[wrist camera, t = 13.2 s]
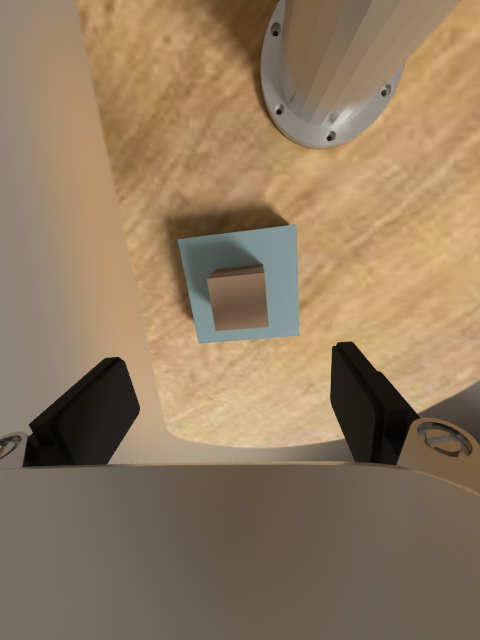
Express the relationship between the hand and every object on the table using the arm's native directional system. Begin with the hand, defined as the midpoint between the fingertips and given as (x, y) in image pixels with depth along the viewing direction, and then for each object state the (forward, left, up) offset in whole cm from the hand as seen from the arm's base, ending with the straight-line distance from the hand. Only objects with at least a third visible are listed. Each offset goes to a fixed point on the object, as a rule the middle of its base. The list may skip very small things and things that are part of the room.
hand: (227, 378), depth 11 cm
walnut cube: (0, 0, -16) cm, 16 cm away
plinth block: (0, 0, -20) cm, 20 cm away
